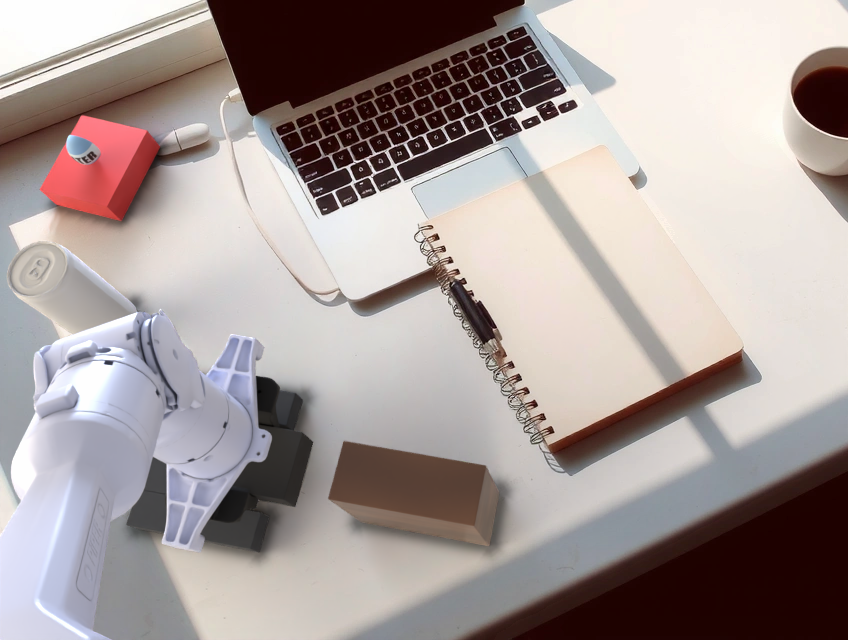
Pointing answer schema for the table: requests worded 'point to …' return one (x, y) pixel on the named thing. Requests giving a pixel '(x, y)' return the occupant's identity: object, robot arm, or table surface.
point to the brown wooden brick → (415, 492)
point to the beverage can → (64, 288)
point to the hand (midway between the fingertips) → (255, 465)
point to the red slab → (100, 167)
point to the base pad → (239, 535)
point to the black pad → (278, 468)
